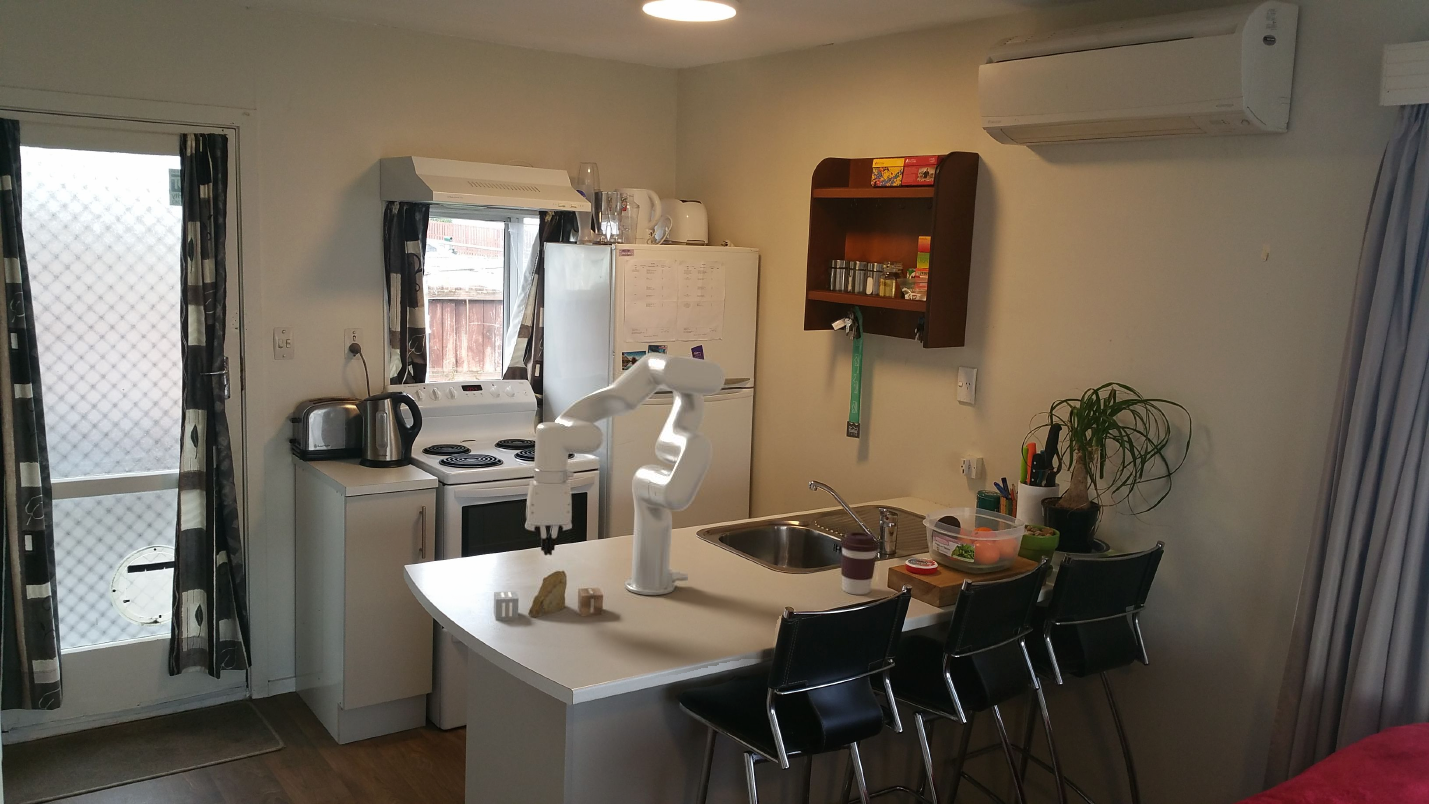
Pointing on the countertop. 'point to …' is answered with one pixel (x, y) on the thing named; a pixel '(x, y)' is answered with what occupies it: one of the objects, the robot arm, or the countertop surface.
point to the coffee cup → (858, 562)
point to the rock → (550, 595)
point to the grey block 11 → (506, 605)
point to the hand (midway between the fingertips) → (547, 553)
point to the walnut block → (590, 601)
